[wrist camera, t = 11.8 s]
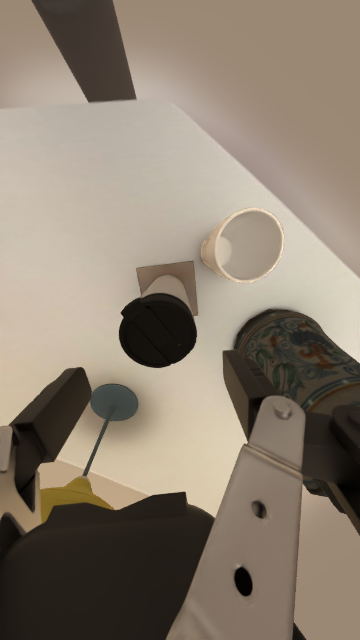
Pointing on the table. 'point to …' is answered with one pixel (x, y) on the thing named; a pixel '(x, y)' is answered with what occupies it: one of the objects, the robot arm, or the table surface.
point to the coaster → (178, 270)
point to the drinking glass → (244, 245)
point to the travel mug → (159, 324)
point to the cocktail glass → (110, 406)
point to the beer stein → (302, 368)
